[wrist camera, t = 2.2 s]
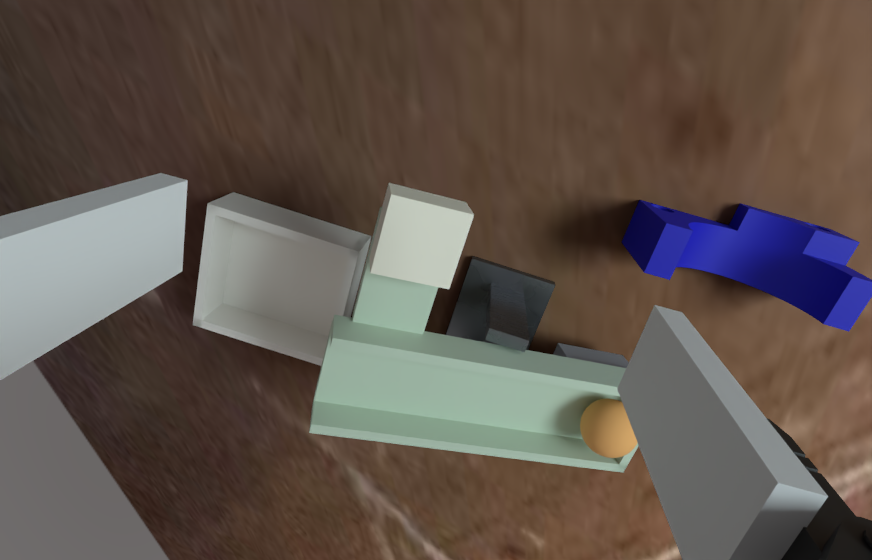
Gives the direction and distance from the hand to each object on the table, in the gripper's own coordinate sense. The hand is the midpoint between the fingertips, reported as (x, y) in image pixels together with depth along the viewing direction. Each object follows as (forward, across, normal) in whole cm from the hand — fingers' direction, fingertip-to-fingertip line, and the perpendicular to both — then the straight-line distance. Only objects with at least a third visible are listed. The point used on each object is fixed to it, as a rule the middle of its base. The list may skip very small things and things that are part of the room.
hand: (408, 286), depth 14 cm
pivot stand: (+21, +5, -11) cm, 25 cm away
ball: (+14, +13, -12) cm, 23 cm away
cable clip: (+22, +18, 0) cm, 28 cm away
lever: (+17, +5, -7) cm, 19 cm away
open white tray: (+21, -10, -10) cm, 26 cm away
